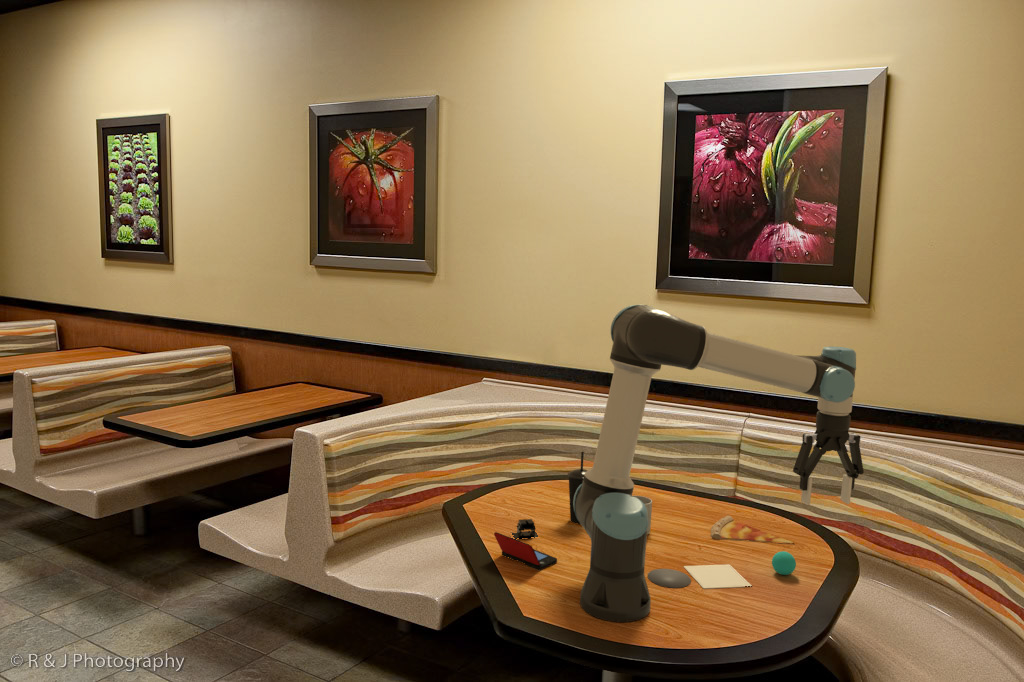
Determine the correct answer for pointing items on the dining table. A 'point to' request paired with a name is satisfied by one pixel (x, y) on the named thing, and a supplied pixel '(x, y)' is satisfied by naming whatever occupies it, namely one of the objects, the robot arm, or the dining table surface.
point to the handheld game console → (524, 552)
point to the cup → (649, 509)
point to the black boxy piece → (525, 525)
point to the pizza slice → (741, 532)
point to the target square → (717, 576)
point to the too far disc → (669, 578)
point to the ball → (783, 563)
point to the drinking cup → (575, 487)
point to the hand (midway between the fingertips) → (825, 502)
